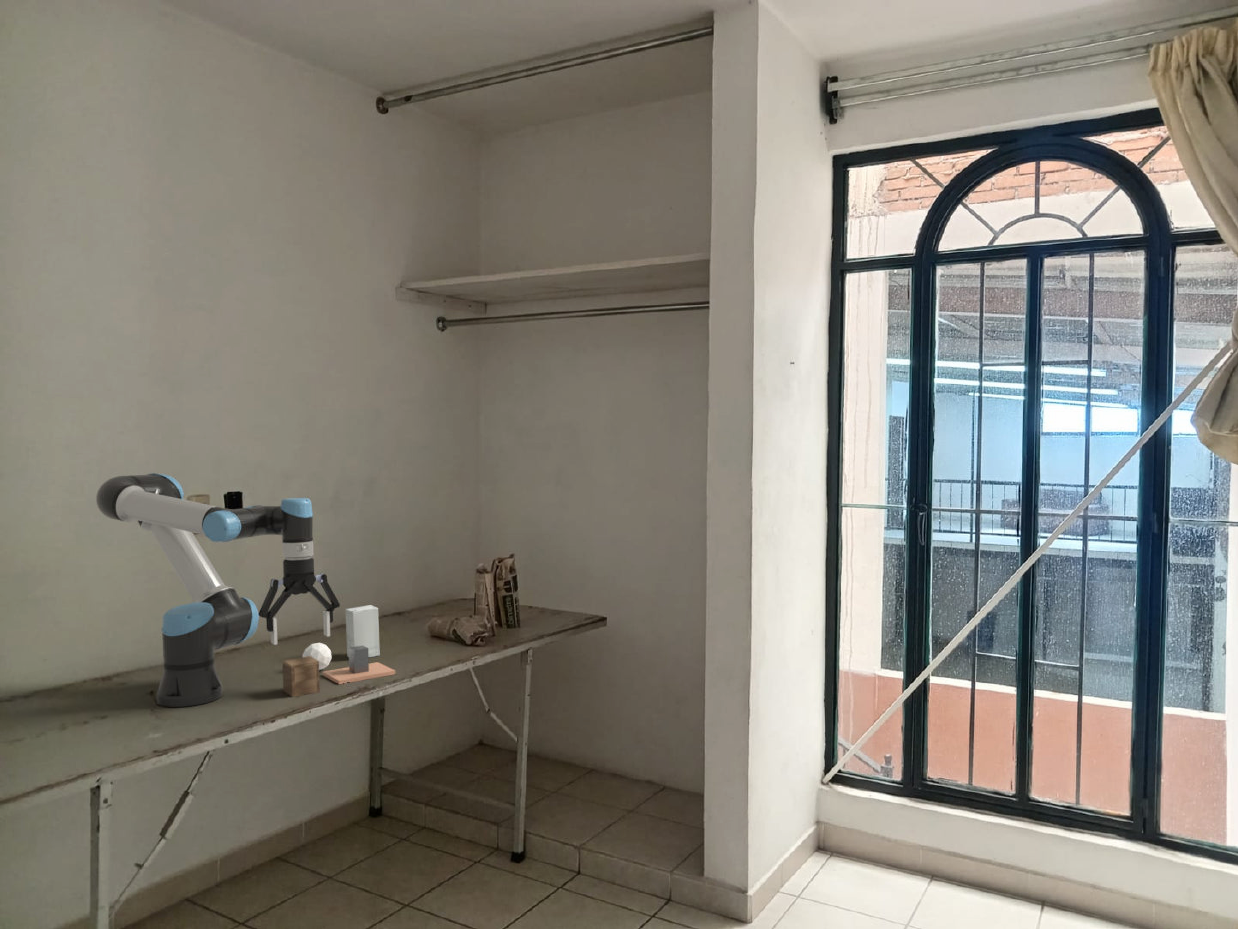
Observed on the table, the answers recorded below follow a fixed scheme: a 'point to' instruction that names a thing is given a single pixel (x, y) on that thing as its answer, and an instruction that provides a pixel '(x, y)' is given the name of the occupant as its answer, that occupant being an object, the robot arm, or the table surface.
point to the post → (358, 659)
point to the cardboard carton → (301, 676)
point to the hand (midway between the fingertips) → (301, 639)
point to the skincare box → (363, 629)
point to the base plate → (347, 676)
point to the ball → (319, 654)
